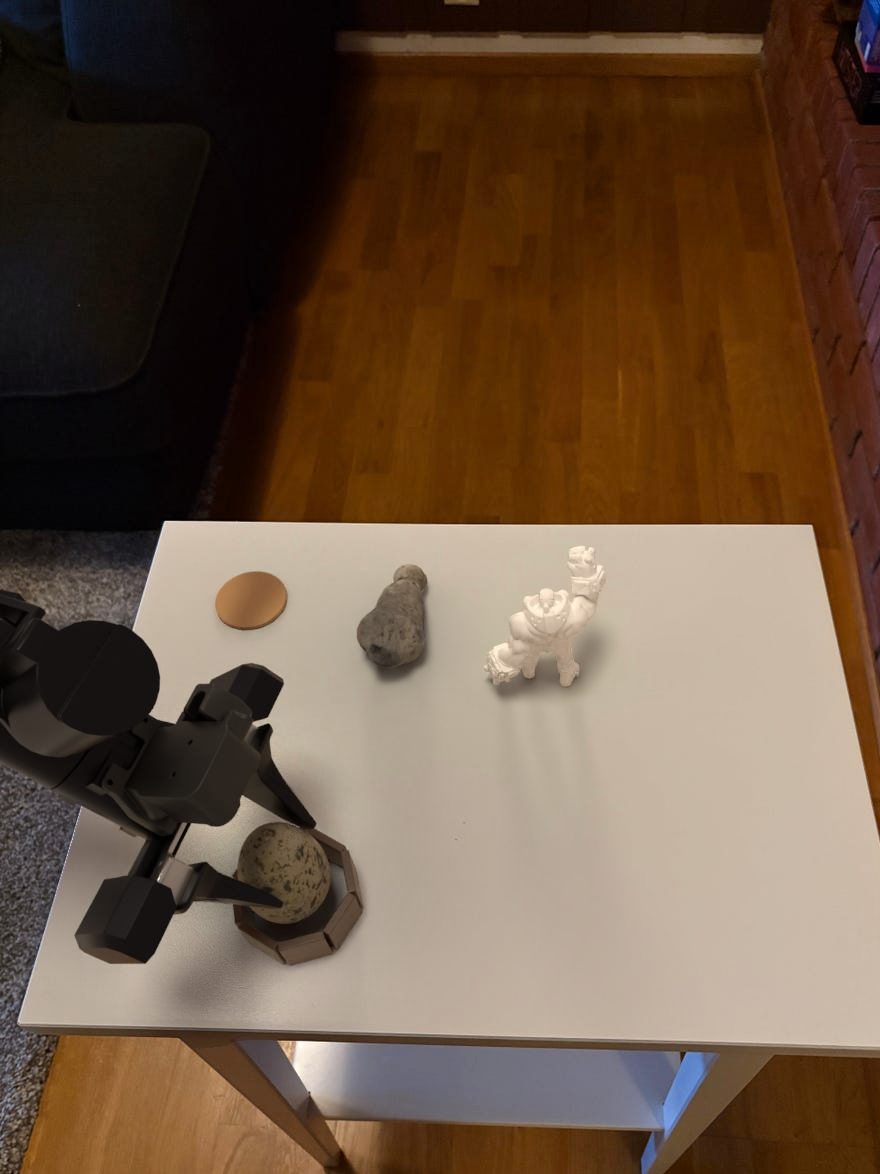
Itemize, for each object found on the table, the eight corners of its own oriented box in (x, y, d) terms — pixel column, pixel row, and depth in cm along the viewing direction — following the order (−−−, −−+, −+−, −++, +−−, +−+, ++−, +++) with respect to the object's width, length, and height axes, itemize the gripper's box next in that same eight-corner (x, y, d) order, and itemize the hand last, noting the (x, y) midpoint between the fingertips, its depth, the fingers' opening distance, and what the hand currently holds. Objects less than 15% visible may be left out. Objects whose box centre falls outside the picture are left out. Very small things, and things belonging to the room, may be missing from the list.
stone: (402, 582, 83) (331, 570, 77) (440, 555, 80) (370, 541, 74) (424, 682, 80) (352, 677, 74) (465, 659, 76) (393, 652, 71)
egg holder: (251, 976, 62) (238, 962, 59) (238, 864, 67) (225, 846, 64) (370, 943, 63) (363, 927, 60) (349, 835, 68) (341, 816, 65)
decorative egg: (237, 891, 64) (198, 836, 56) (306, 838, 66) (278, 778, 58) (285, 955, 61) (251, 907, 53) (354, 897, 64) (332, 843, 55)
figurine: (581, 625, 78) (591, 533, 69) (615, 667, 76) (630, 577, 66) (479, 676, 76) (474, 587, 66) (511, 721, 73) (510, 636, 63)
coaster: (219, 637, 79) (218, 634, 79) (213, 582, 83) (211, 579, 82) (291, 620, 80) (290, 617, 79) (282, 567, 83) (281, 564, 83)
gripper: (36, 891, 40) (308, 1018, 47) (216, 578, 50) (418, 721, 58) (-31, 903, 48) (212, 1010, 55) (137, 630, 58) (323, 750, 65)
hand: (296, 865), depth 58 cm, fingers closed on decorative egg, 5 cm apart
